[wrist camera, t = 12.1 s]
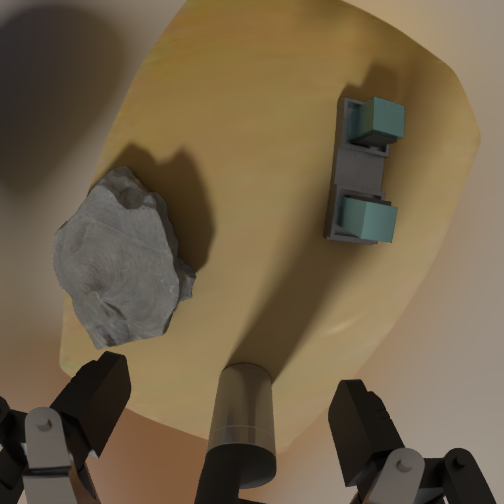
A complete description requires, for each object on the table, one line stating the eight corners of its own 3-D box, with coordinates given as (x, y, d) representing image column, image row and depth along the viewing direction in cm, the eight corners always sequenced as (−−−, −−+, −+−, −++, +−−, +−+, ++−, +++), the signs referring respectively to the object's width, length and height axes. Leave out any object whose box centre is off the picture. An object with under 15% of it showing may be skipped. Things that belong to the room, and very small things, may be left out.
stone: (87, 364, 35) (19, 222, 30) (107, 339, 43) (50, 214, 38) (214, 335, 33) (134, 144, 27) (221, 306, 41) (158, 150, 35)
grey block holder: (367, 242, 38) (398, 260, 28) (323, 236, 38) (344, 254, 28) (381, 112, 33) (414, 95, 23) (337, 100, 33) (362, 77, 23)
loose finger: (370, 198, 34) (398, 203, 27) (365, 230, 35) (391, 242, 28) (344, 193, 34) (367, 196, 27) (339, 226, 35) (360, 238, 28)
